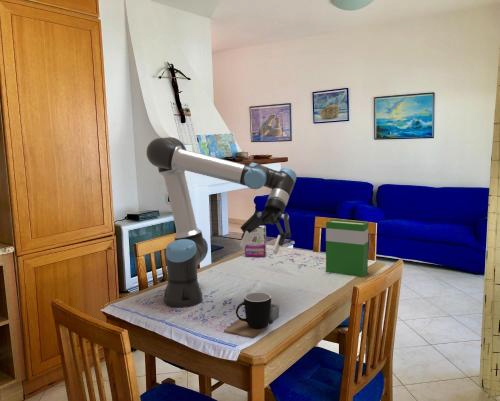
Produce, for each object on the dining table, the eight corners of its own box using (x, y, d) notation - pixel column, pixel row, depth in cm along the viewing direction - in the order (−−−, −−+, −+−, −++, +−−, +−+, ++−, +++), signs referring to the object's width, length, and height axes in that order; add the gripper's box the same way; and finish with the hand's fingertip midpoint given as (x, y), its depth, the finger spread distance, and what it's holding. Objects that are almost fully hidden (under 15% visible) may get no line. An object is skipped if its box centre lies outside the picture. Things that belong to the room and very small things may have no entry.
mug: (267, 318, 155) (267, 290, 154) (274, 329, 146) (274, 300, 145) (233, 322, 153) (233, 294, 151) (238, 333, 144) (237, 303, 142)
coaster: (224, 331, 147) (223, 330, 147) (240, 319, 156) (240, 317, 156) (253, 338, 142) (253, 336, 141) (268, 325, 151) (268, 323, 151)
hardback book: (325, 271, 209) (326, 221, 205) (331, 267, 215) (331, 219, 211) (363, 277, 200) (363, 224, 196) (367, 272, 206) (368, 222, 203)
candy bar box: (266, 255, 240) (266, 225, 238) (265, 257, 235) (264, 227, 233) (246, 254, 242) (245, 225, 240) (244, 257, 237) (244, 226, 235)
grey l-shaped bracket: (246, 318, 157) (246, 302, 156) (256, 310, 164) (256, 295, 163) (271, 323, 152) (271, 307, 151) (280, 315, 159) (280, 299, 158)
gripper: (309, 211, 168) (292, 259, 157) (251, 206, 180) (232, 250, 170) (304, 199, 162) (286, 248, 152) (245, 195, 175) (225, 240, 164)
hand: (258, 249), depth 161 cm, fingers open, 13 cm apart
